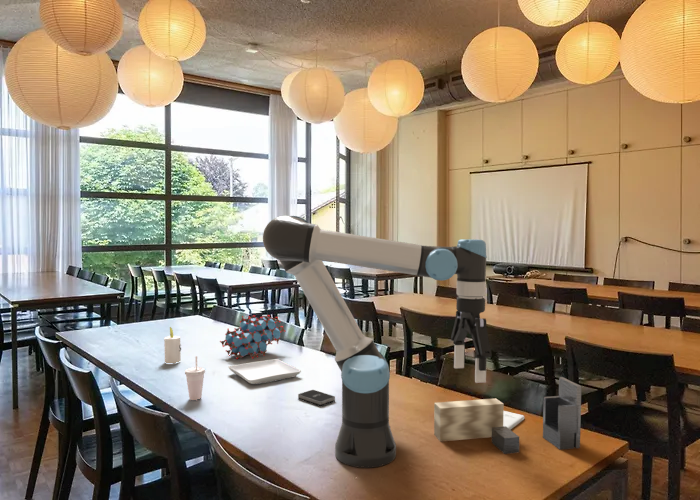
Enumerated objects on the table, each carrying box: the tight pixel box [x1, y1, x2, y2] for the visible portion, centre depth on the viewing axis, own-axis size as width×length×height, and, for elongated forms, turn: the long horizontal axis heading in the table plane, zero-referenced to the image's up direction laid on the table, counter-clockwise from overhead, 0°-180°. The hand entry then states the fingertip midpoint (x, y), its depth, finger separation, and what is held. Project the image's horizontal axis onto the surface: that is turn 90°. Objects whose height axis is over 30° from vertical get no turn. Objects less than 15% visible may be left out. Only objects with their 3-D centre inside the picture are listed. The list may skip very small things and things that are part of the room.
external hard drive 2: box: [503, 410, 525, 431], centre depth 150 cm, size 2×8×12 cm
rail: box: [433, 397, 504, 442], centre depth 140 cm, size 18×4×9 cm, turn 101°
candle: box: [163, 326, 182, 363], centre depth 215 cm, size 6×6×15 cm
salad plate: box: [228, 358, 302, 385], centre depth 196 cm, size 21×21×3 cm
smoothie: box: [184, 355, 206, 401], centre depth 170 cm, size 6×6×14 cm
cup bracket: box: [542, 377, 582, 451], centre depth 135 cm, size 6×8×16 cm
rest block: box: [491, 426, 520, 455], centre depth 132 cm, size 4×7×4 cm, turn 11°
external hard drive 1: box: [297, 389, 336, 408], centre depth 168 cm, size 7×11×2 cm, turn 47°
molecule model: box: [219, 314, 286, 360], centre depth 227 cm, size 16×14×25 cm
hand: (469, 374), depth 140 cm, fingers open, 13 cm apart
